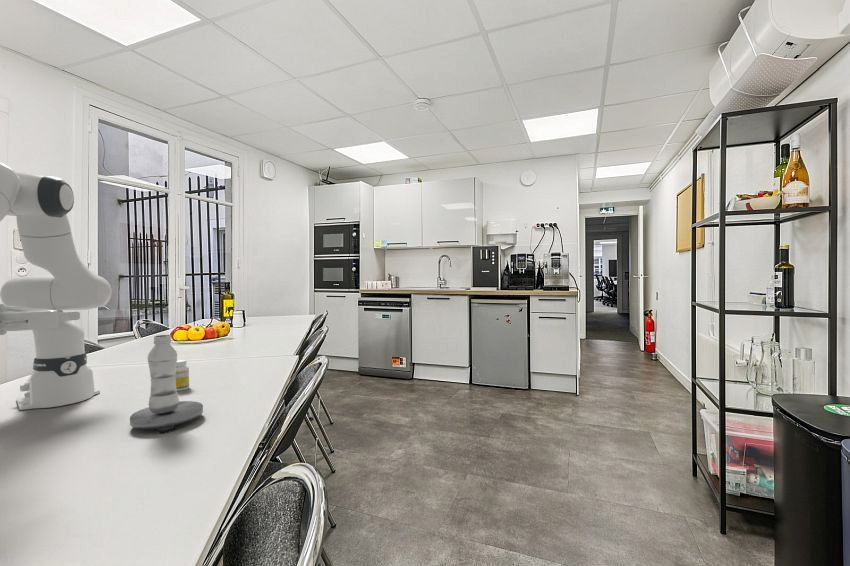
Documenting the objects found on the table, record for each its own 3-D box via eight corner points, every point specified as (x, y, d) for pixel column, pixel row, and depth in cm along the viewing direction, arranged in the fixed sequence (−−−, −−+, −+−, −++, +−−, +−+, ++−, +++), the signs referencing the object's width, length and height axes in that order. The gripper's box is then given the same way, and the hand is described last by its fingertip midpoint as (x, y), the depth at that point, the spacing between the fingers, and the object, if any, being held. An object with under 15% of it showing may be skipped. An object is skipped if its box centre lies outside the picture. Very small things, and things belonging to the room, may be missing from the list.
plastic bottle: (165, 417, 98) (164, 338, 97) (141, 416, 99) (140, 337, 98) (185, 408, 104) (183, 334, 104) (162, 407, 105) (160, 333, 105)
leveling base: (118, 426, 99) (117, 415, 99) (183, 408, 113) (183, 397, 113) (149, 440, 91) (149, 427, 91) (215, 418, 105) (215, 407, 105)
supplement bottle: (189, 389, 132) (189, 361, 132) (171, 392, 129) (170, 363, 129) (188, 385, 136) (188, 358, 136) (170, 388, 133) (169, 360, 133)
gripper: (-6, 306, 71) (89, 301, 83) (-36, 303, 81) (53, 299, 93) (-5, 341, 71) (89, 331, 83) (-35, 333, 81) (53, 325, 93)
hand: (70, 314), depth 88 cm, fingers open, 8 cm apart
